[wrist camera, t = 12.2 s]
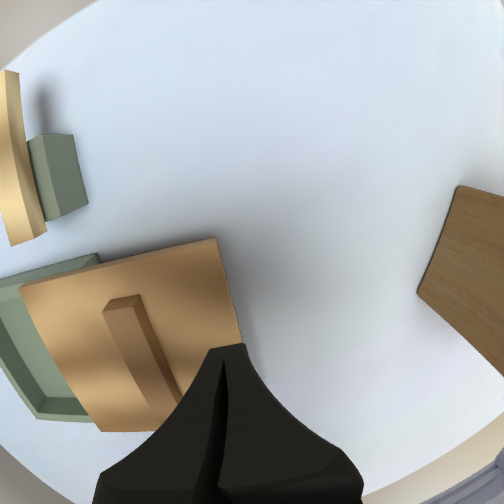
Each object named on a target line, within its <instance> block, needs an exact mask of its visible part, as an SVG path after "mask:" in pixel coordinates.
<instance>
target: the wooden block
mask: <svg viewBox="0 0 504 504" xmlns="http://www.w3.org/2000/svg"><path fill="white" fill-rule="evenodd" d="M418 296H419V297H420V298H421V299H422V300H423V301H424V302H426V303H427V304H428V305H429V306H430V307H431V308H432V309H433V310H434V311H436V312H437V313H438V314H439V315H440V316H441V317H442V318H443V319H444V320H446V321H447V322H448V323H449V324H450V325H451V326H452V327H453V328H454V329H455V330H456V331H457V332H458V333H460V334H461V335H462V336H463V337H464V338H465V339H466V340H467V341H468V342H469V343H470V344H471V345H472V346H473V347H474V348H475V349H476V350H477V351H478V352H479V353H480V354H481V355H482V356H483V357H484V358H485V359H486V360H487V361H488V362H489V363H490V364H491V365H492V366H493V367H494V368H495V369H496V370H497V371H498V372H499V373H500V374H501V375H502V376H503V377H504V197H502V196H499V195H495V194H492V193H488V192H485V191H481V190H477V189H474V188H470V187H466V186H459V187H458V188H457V190H456V193H455V197H454V200H453V203H452V206H451V209H450V212H449V215H448V218H447V221H446V223H445V226H444V229H443V232H442V234H441V237H440V240H439V242H438V245H437V247H436V250H435V252H434V255H433V257H432V260H431V262H430V265H429V267H428V269H427V272H426V274H425V276H424V278H423V281H422V283H421V285H420V287H419V289H418Z"/></svg>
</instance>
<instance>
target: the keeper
mask: <svg viewBox="0 0 504 504" xmlns="http://www.w3.org/2000/svg"><path fill="white" fill-rule="evenodd" d="M26 143H27V149H28V154H29V160H30V165H31V169H32V174H33V179H34V183H35V187H36V191H37V195H38V199H39V203H40V207H41V211H42V214H43V218H44V221H45V222H46V221H49V220H52V219H55V218H58V217H61V216H63V215H65V214H67V213H69V212H71V211H73V210H75V209H78V208H80V207H82V206H84V205H86V204H88V201H87V197H86V193H85V189H84V185H83V181H82V177H81V172H80V168H79V164H78V159H77V154H76V149H75V144H74V139H73V135H67V134H41V135H39V136H37V137H35V138H33V139H31V140H29V141H27V142H26Z"/></svg>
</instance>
